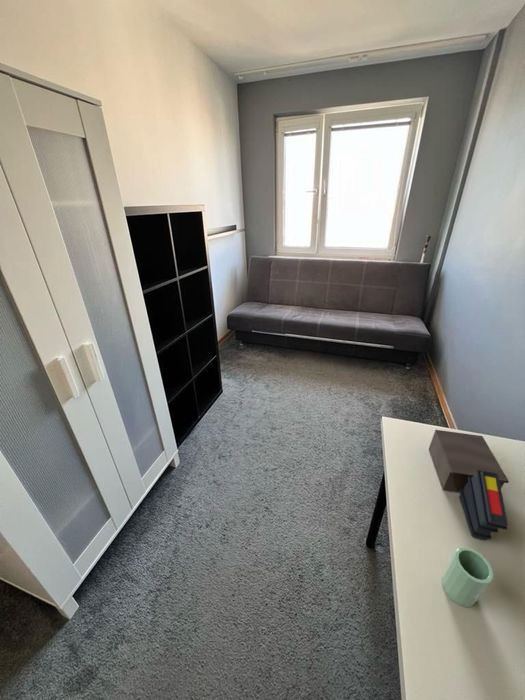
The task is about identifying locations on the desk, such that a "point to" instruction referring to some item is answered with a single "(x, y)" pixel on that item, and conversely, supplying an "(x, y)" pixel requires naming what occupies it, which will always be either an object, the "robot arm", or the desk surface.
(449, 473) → the case
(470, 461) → the cover
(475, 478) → the black layered block
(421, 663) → the desk surface
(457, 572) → the pencil cup
